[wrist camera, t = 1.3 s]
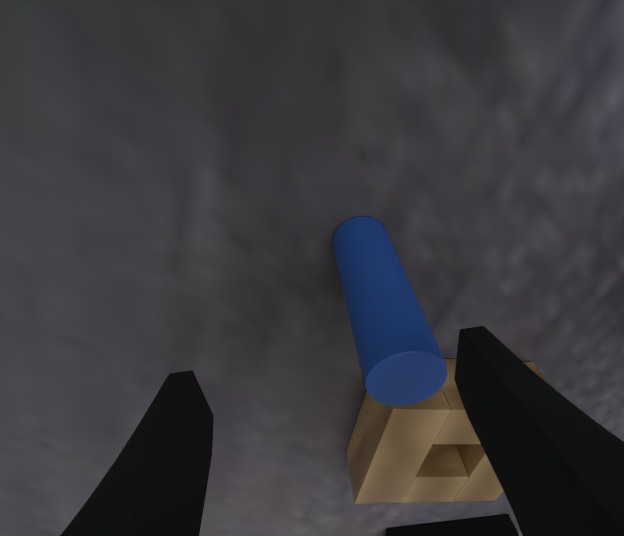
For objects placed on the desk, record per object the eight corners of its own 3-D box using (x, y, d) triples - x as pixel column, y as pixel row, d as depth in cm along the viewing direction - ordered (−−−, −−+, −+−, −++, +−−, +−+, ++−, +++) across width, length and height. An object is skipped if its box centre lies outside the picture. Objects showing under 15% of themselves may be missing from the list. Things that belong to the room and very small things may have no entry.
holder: (533, 361, 28) (567, 412, 24) (474, 450, 34) (496, 500, 31) (377, 356, 26) (392, 409, 23) (346, 450, 32) (354, 503, 29)
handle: (392, 217, 20) (460, 353, 13) (379, 264, 22) (433, 407, 15) (337, 213, 20) (376, 350, 13) (328, 260, 21) (357, 406, 14)
